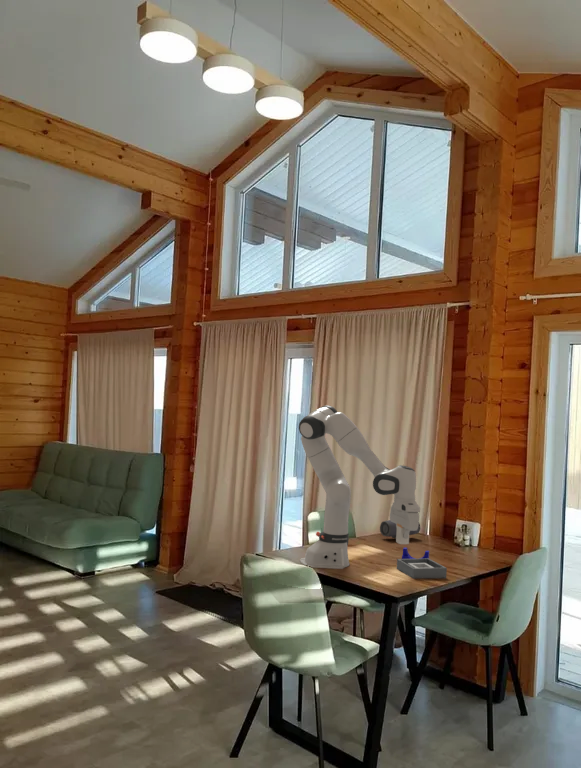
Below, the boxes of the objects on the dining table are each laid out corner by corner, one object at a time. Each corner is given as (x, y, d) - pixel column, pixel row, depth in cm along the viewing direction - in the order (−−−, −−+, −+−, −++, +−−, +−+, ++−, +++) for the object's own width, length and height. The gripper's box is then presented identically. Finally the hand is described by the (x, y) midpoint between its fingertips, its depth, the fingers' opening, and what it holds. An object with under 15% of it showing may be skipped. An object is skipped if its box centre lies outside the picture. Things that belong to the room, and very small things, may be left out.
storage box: (413, 580, 280) (413, 568, 280) (396, 570, 295) (397, 559, 295) (446, 579, 285) (446, 568, 285) (428, 569, 300) (428, 558, 300)
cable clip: (401, 561, 311) (402, 549, 311) (403, 559, 316) (404, 547, 316) (427, 565, 307) (427, 552, 307) (428, 563, 311) (429, 550, 311)
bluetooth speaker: (389, 540, 355) (390, 522, 355) (378, 536, 363) (379, 518, 363) (420, 537, 367) (421, 519, 367) (409, 534, 375) (410, 516, 375)
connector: (400, 544, 275) (401, 525, 275) (395, 542, 279) (397, 523, 279) (408, 544, 276) (409, 525, 276) (404, 541, 280) (405, 523, 280)
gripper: (387, 499, 287) (385, 531, 287) (408, 508, 267) (406, 542, 267) (400, 499, 289) (398, 531, 289) (422, 508, 269) (420, 542, 269)
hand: (402, 536), depth 278 cm, fingers closed on connector, 4 cm apart
